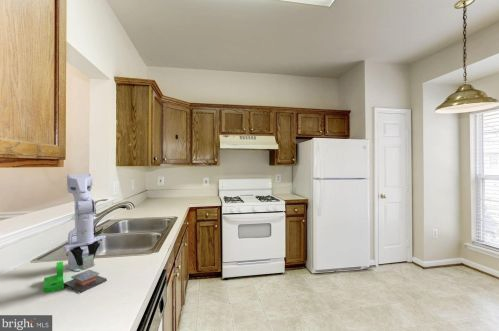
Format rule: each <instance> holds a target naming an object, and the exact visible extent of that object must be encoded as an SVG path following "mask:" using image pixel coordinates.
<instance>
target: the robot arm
mask: <svg viewBox="0 0 499 331" xmlns="http://www.w3.org/2000/svg"><path fill="white" fill-rule="evenodd" d="M93 183H94V182H93V175H92V174H91V173H85V174H84V173H83V174H81V173H80V174H79V173H77V174H76V173H75V174H68V175H66V186H67V187H66V188H67V192H68V193H70V194H72V196H73V199H74V200H73V202H74V225H75V227H74V228H73V229H72V230H70V231H69V232H68V237H67V244H66V245H63V252H66V253H67V252H68V253H67V259H68V260H67V265H65V268H67V269H69V270H72V271H75V272H79V271H82V270H81V269H78V266H81V265H82V254H85V253H91V254H94V258H95V256H96V253H97V251H98V249H99V248H100V245H101V243H100V242H103V241H105V235H98V236H95V235H94V234H95V233H94V214H95V211H96V204H95V200H94V199H93V198H92V193H91V191H92V190H91V189H93V188H92V187H93ZM94 266H95V263H94Z"/></svg>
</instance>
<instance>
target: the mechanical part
mask: <svg viewBox="0 0 499 331" xmlns="http://www.w3.org/2000/svg"><path fill="white" fill-rule="evenodd" d="M64 283H65V280H64V261H58V262H56V274H54V275H50V276H45V277H44V278H43V292H44V293H46V294H48V293H49V294H51V293H54V292H58V291H61V290H65V286H64Z"/></svg>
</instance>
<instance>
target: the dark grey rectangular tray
mask: <svg viewBox="0 0 499 331" xmlns="http://www.w3.org/2000/svg"><path fill="white" fill-rule="evenodd" d="M70 278H71V279H70V280H67V281H66V282H65V281H64V287H66V288H68V289H70V290H72V291H76V292H78V293H80V294H82V293H84V292H86V291H88V290H91V289H92V288H95V287H97V286H99V285H102V284H104V283H106V282H107V281H108V280H107V278H106V277H103V276H100V272H97V271H95V270H92V269H86V270H84V271H83V272H79V273H77V274H74V275H72V276H71V277H70Z"/></svg>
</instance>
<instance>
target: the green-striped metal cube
mask: <svg viewBox="0 0 499 331" xmlns="http://www.w3.org/2000/svg"><path fill="white" fill-rule="evenodd" d="M94 262H95V257H94V254H91V253H85V254H82V265H81V266H78V269H81V270H80V271H86V270H89V269H90V268H93V267H94V266H95V265H94V264H95V263H94Z"/></svg>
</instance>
